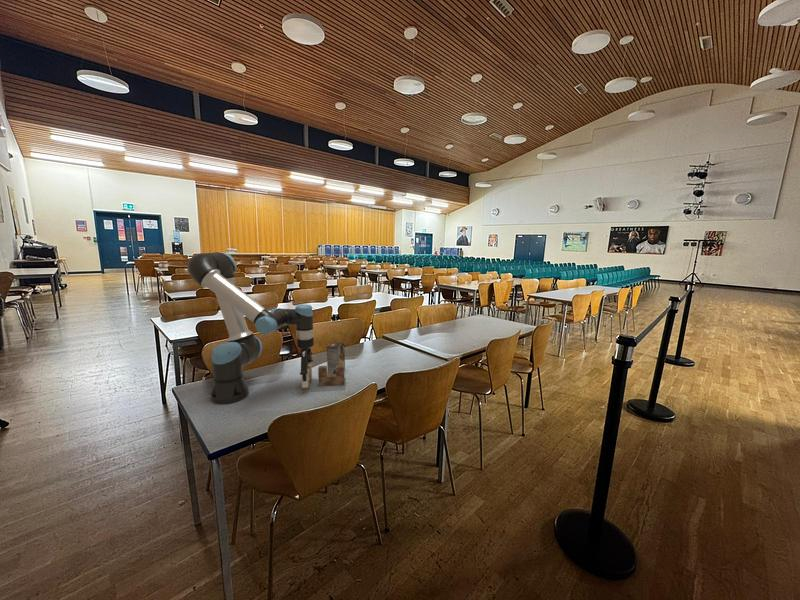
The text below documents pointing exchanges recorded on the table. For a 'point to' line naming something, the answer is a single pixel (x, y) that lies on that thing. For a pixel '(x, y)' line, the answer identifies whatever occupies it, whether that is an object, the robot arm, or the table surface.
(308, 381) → the oak plate
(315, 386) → the mat
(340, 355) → the coffee box
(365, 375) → the table surface
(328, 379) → the brown u-shaped block
